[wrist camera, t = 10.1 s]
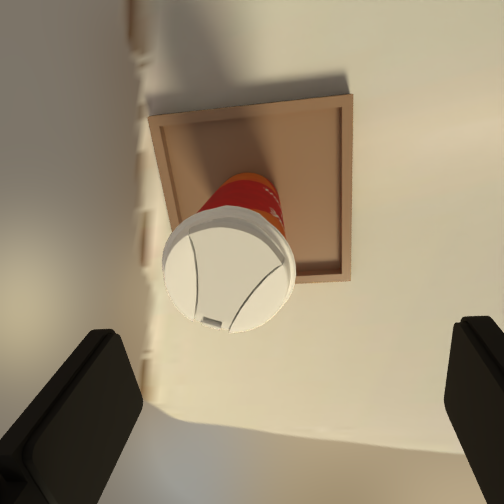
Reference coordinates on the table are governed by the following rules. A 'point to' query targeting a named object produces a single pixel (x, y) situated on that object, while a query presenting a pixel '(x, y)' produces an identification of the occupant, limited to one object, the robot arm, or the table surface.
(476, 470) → the robot arm
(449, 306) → the table surface
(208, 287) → the paper cup
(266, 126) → the tray
